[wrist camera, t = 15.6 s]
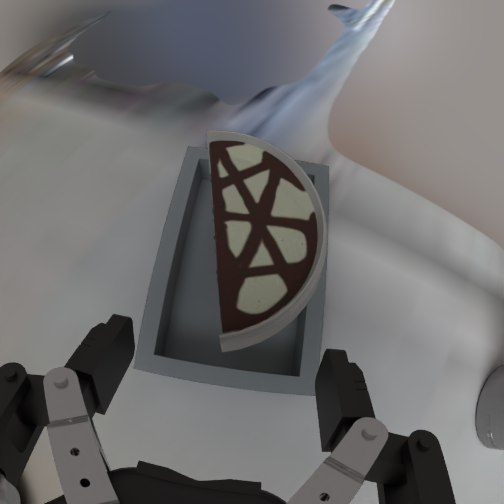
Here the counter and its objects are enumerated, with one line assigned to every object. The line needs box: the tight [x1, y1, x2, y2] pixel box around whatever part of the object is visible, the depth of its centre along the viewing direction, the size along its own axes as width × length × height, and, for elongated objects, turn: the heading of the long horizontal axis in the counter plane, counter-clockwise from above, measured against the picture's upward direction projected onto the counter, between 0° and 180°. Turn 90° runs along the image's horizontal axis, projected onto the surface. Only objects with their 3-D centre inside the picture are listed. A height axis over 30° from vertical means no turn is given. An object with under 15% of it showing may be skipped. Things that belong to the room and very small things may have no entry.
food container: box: [206, 130, 327, 352], centre depth 20 cm, size 12×6×10 cm, turn 6°
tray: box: [134, 146, 329, 396], centre depth 24 cm, size 12×18×4 cm, turn 172°
